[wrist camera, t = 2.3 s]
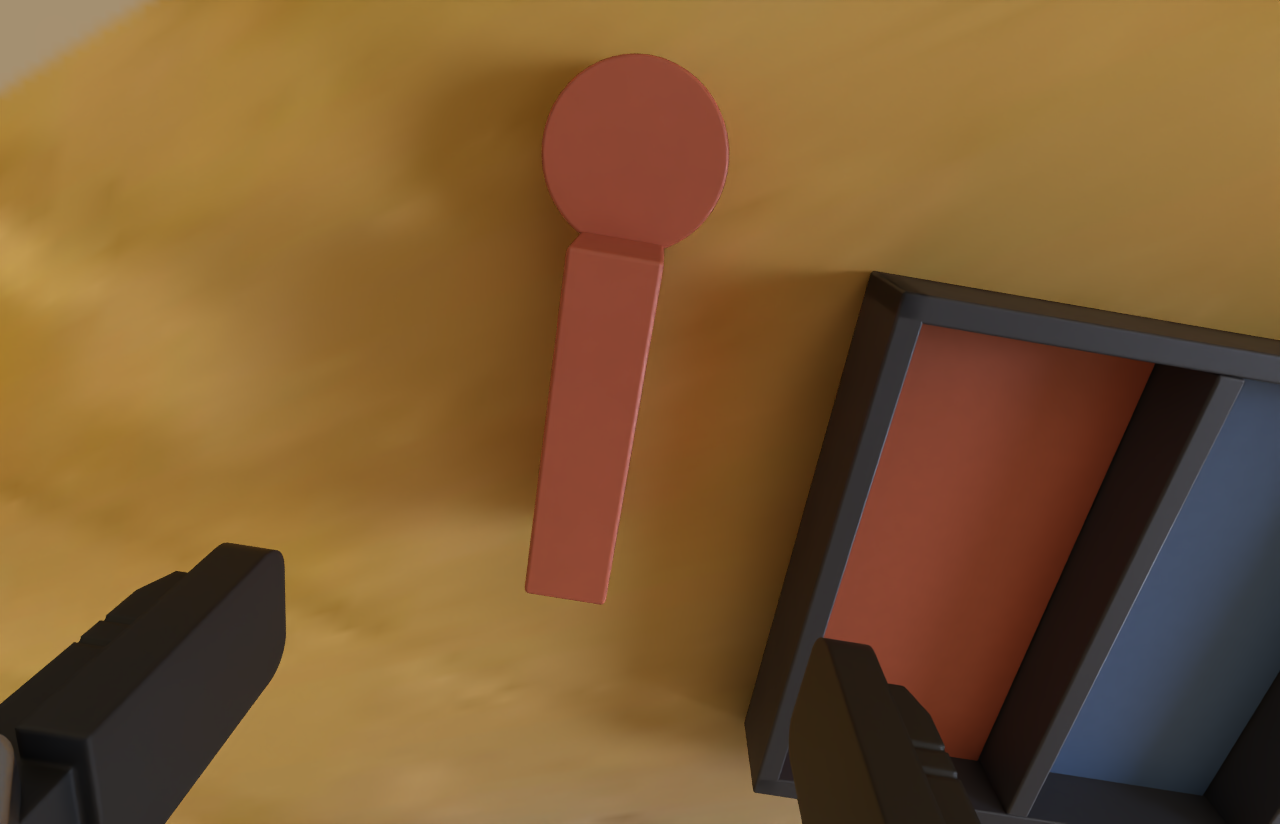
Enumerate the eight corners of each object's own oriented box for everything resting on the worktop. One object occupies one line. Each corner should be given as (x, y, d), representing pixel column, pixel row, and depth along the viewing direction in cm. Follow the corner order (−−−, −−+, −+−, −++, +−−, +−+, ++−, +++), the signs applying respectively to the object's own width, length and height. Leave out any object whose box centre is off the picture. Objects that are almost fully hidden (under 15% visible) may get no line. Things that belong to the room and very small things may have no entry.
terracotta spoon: (515, 500, 19) (478, 587, 15) (565, 48, 15) (531, 18, 11) (653, 522, 19) (649, 614, 16) (739, 79, 15) (762, 59, 12)
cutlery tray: (870, 269, 17) (904, 291, 14) (1457, 370, 17) (1583, 407, 15) (743, 723, 22) (752, 793, 19) (1198, 793, 22) (1261, 871, 20)
